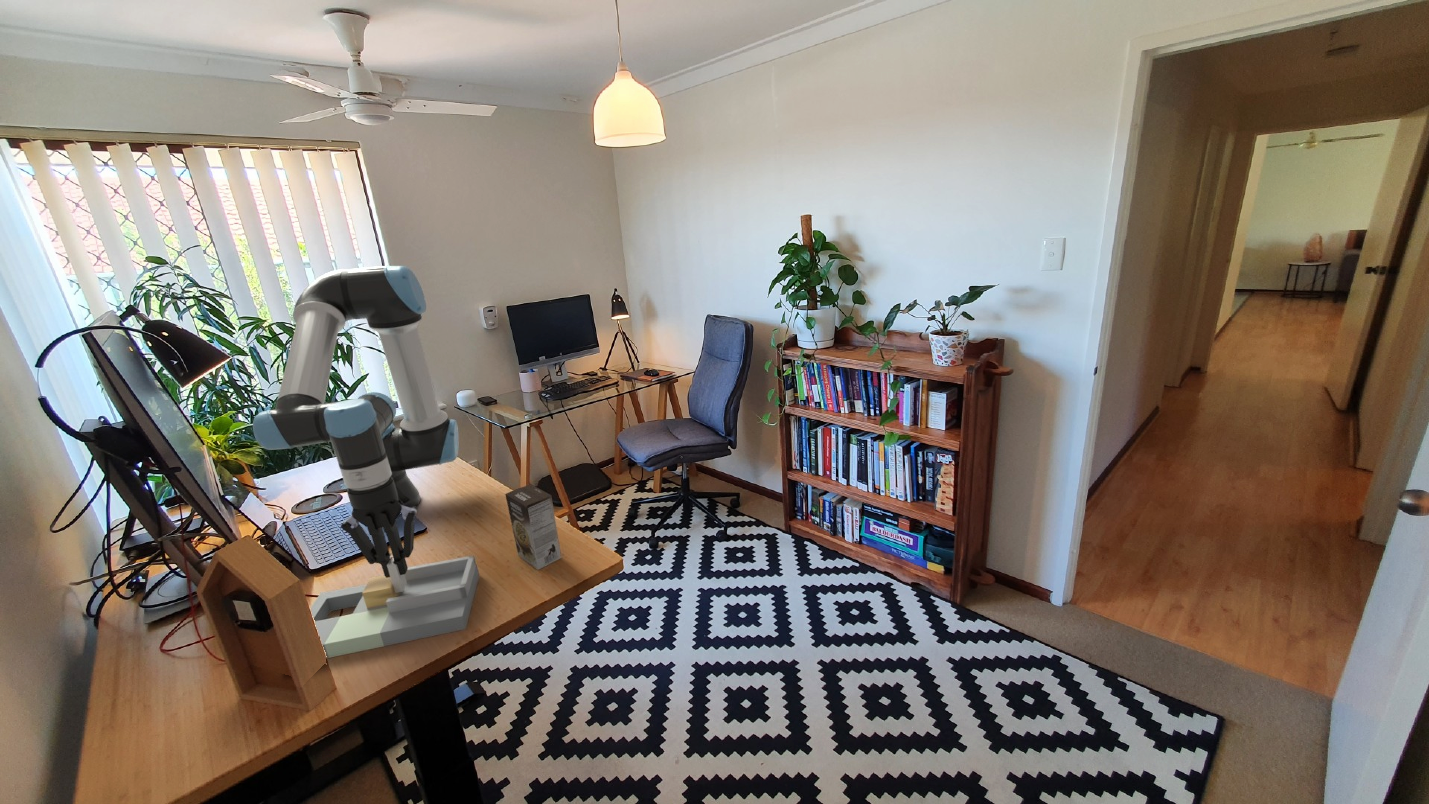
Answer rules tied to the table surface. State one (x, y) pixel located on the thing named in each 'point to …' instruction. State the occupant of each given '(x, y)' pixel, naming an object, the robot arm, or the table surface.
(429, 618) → the tray
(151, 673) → the table surface
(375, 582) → the ochre block
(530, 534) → the coffee box
